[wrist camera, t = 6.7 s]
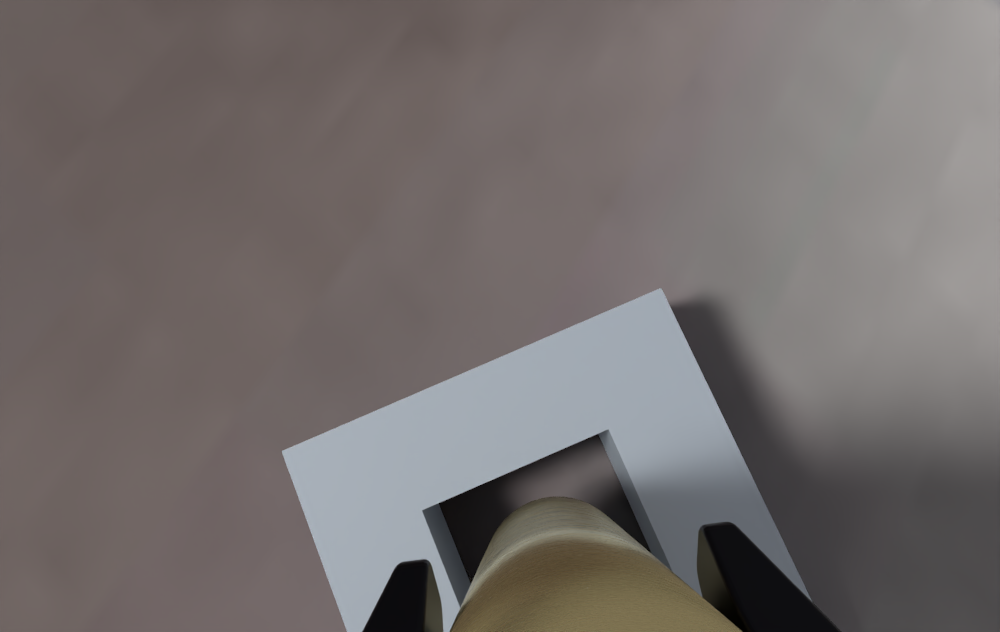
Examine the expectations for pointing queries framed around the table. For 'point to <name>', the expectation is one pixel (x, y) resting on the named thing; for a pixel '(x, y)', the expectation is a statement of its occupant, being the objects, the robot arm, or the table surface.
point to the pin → (577, 579)
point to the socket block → (531, 455)
